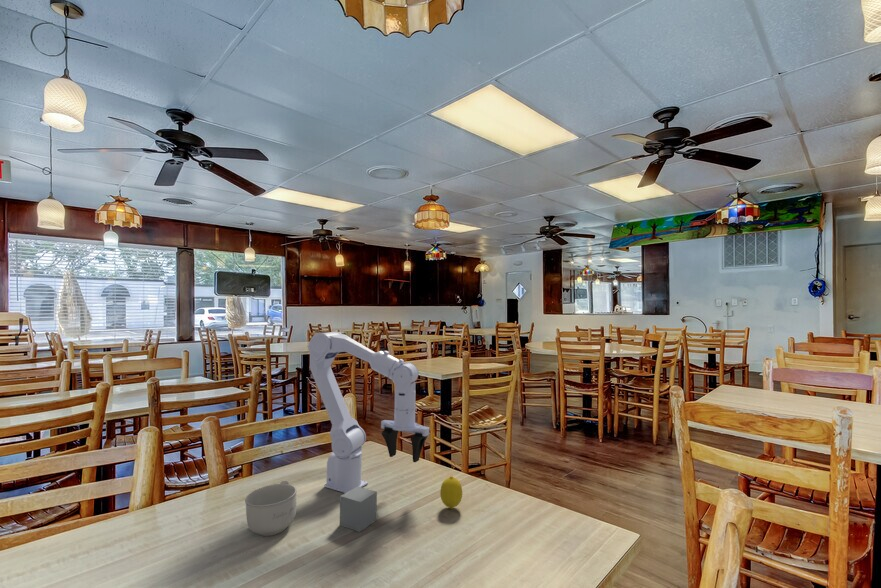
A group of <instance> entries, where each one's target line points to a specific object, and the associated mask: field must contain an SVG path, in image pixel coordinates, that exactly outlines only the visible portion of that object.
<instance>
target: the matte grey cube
mask: <svg viewBox="0 0 881 588" xmlns="http://www.w3.org/2000/svg"><path fill="white" fill-rule="evenodd" d="M377 501H378V492H377V491H375V490H372V489H369V488H365V487H358V486H357V487H355V488H353V489H352V490H350V491H348V492H346V493H343V494H342V495H340V497H339V526H341V527H344V528H347V529H350V530H353V531H356V532H359V533H361V532H362V531H363V530H365V529H366V528H368V527H369V526H370V525H371V524H373V523H374V522H376V521H377V515H378V514H377V510H378V509H377V505H378V503H377Z"/></svg>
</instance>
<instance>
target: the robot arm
mask: <svg viewBox="0 0 881 588" xmlns="http://www.w3.org/2000/svg"><path fill="white" fill-rule="evenodd" d="M307 348H308V352H309V369H310V372H311V374H312V377H313V380H314V382H315V384H316V387H317V390H318V392H319V395H320V396H321V400H322V403H323V406H324V407H325V409H326V413H327V414H328V417H329V420H330V423H331V429H330V432H329V437H330V440H331V451H332V452H331V453H330V455H329V456H328V458H327V461H326V480H325V481H326V482H325V483H326V484H324V486H323V487H324V488H327V489H331V490H333V491H337V492H341V493H343V494H345V493H346V492H348V491H350V490H352V489H353V488H355V487H357V486H358V487H362V488H364V487H365V486H367V485H368V484H369V482H368V481H366V480H362V466H363V465H362V463H363V461H362V460H363V459H362V457H363V451H362V449H363V447H362V446H364V445H365V444H366V440H367V434H366V432H365V430H364V429H363V428H362V427H361V426H360V425H359V423H358V420H356V419H355V418H353V417H352V416H351V414H350V412H349V411H350V410H348V407H347V405H346V402H345V399H344V397H343V394H342V392H341V389H340V387H339V384H338V382H337V380H336V377H335V374H334V372H333V370H332V367H331V366H332V364H333V363H334V360H335V358H336V357H337V356H338V354H340V353H347V354H350V355H352V356H354V357H357V358H358V359H360V360H362V361H365V362H367V363H369V365H370V368H371V370H373V371H375V372H376V373H379V374H381V376H384V377H386V378H388V379H390V380H392V381H391V382H393V384H394V412H393V413H394V419H393V420H388V419H384V420H381V421H380V429H383V430H382V431H381V436H382V438H383V439H384V442H385V443H386V447H387V451H388V455H389V457H390V458H392V457H394V456H396V455H397V442H398V441H397V440H398V435H399V432H405V433H409V434H410V433H411V434H412V436H410V442H411V445H412V446H411V447H412V463H417V462H419V461H420V457H421V452H422V449H423V447H424V445H425V442H426V440H427V438H428V436H429V435H430V427H429V426H425V425H421V424H419V423H417V422H416V394H417V393H416V381H417V380H418V377H419V370H418V367H417V366H416V365H414V364H413V362H409V361H408V362H405V360H404V359H402V358H400V359H399V358H397V357H395V356H393V355H391V354H390V351H388V350H379V351H377V352H375V351H373V349H370V348H368V347H367V346H365V345H363V344H361V343H360V342H358V341H356V340H355V339H353V338H352V337H349V336H348V335H347V334H344V333H341V332H340V331H335V330H334V331H331V332H317V333H315V334H313V335H312V337H311V339H310V340H309V342H308V345H307ZM413 434H414V435H413Z"/></svg>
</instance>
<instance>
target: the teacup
mask: <svg viewBox="0 0 881 588" xmlns="http://www.w3.org/2000/svg"><path fill="white" fill-rule="evenodd" d="M297 492H298V491H297V487H296V486H295V485H292V484H290V483H289V481H287V480H283V481H281V482H280V483H275V484H271V485H266V486H263V487H260V488H257V489H255V490H254V491H251V492H250V493H249V494H248V495H247V496H246V497H245V499H244V500H245V514H246V523H247V526H248V528H249V529H250V531H251V532H254V534H257V535H260V536H262V537H265V536H273V535H277V534H279V533H281V532H284V530H286V529H287V528H288V526H290V525H291V524H292V523H293V521H294V519H295V518H296V515H297V514H296V513H297Z"/></svg>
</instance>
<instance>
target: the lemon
mask: <svg viewBox="0 0 881 588" xmlns="http://www.w3.org/2000/svg"><path fill="white" fill-rule="evenodd" d="M439 493H440V495H439V496H440V499H441V501H442V503H443V505H444V506H446V507H448V508H449V509H450V510H453V509H454V508H456V507H457V506H458V505H459V504H460V503H461V501H462V498H463V487H462V483H461V482H460V480H459V479H457V477H455V476H453V475H450V476H449V477H447V478H445V479H444V480H443V481H442V483H441V485H440V491H439Z"/></svg>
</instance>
